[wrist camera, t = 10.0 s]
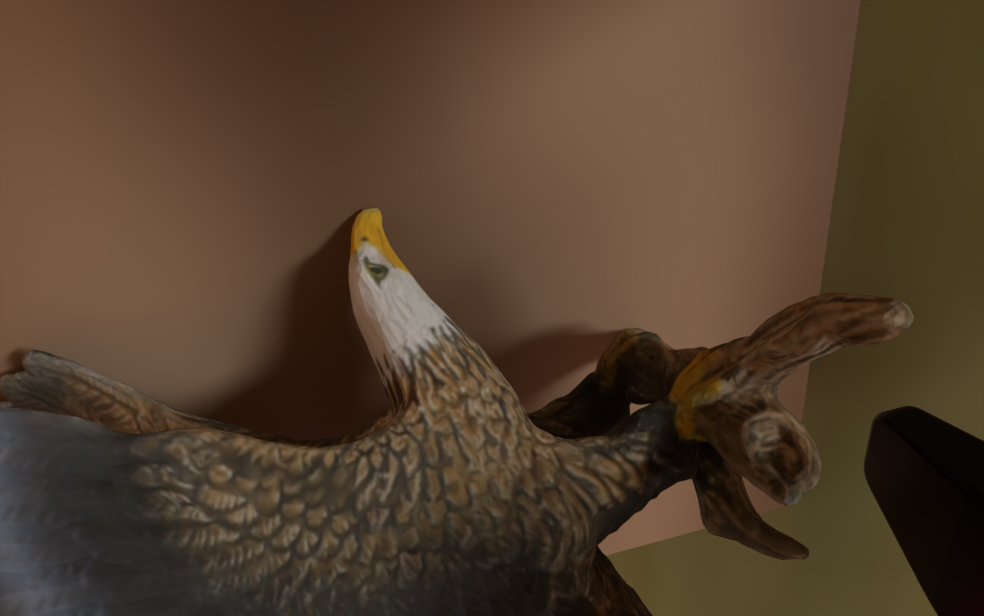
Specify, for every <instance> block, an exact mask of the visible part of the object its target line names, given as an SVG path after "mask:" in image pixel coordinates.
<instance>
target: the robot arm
mask: <svg viewBox="0 0 984 616" xmlns="http://www.w3.org/2000/svg"><path fill="white" fill-rule="evenodd" d="M864 473H865V477H866V480H867V483H868V485H869V487H870V489H871V491H872V493H873V495H874V497H875V499H876V501H877V503H878V505H879V507H880V508H881V510H882V512H883V514H884V516H885V518H886V520H887V522H888V524H889V526H890V528H891V530H892V532H893V534H894V535H895V537H896V539H897V541H898V543H899V545H900V547H901V549H902V551H903V553H904V555H905V557H906V559H907V560H908V562H909V564H910V566H911V568H912V570H913V572H914V574H915V576H916V578H917V580H918V582H919V584H920V585H921V587H922V589H923V591H924V593H925V594H926V596H927V598H928V600H929V602H930V603H931V605H932V607H933V608H934V610H935V611H936V613H937V615H938V616H984V441H983V440H981V439H979V438H977V437H975V436H973V435H971V434H969V433H967V432H965V431H963V430H961V429H959V428H957V427H955V426H953V425H951V424H949V423H947V422H945V421H943V420H941V419H939V418H937V417H935V416H933V415H931V414H929V413H927V412H925V411H923V410H922V409H919V408H916V407H913V406H904V407H900V408H896V409H892V410H889V411H885V412H881V413H879V414H877V415H876V417H875V418H874V419H873V422H872V425H871V430H870V435H869V440H868V445H867V450H866V455H865V460H864Z"/></svg>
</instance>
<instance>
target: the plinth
mask: <svg viewBox="0 0 984 616" xmlns="http://www.w3.org/2000/svg"><path fill="white" fill-rule="evenodd" d="M860 3H861V0H0V378H1V377H2V376H4V375H6V374H8V373H15V372H19V371H25V369H24V367H23V364H22V360H23V358H24V356H25V354H26V353H28V352H29V351H31V350H39V351H44V352H47V353H50V354H52V355H55V356H57V357H60V358H63V359H67V360H73V361H75V362H77V363H79V364H81V365H84V366H85V367H87V368H89V369H91V370H94V371H96V372H98V373H100V374H101V375H103V376H105V377H107V378H110V379H113V380H116V381H119V382H121V383H123V384H125V385H127V386H129V387H131V388H133V389H135V390H137V391H139V392H141V393H143V394H145V395H147V396H149V397H151V398H153V399H155V400H158V401H161V402H163V403H165V404H166V405H168V406H169V407H171V408H173V409H175V410H177V411H180V412H184V413H187V414H193V415H199V416H204V417H207V418H210V419H213V420H215V421H218V422H221V423H226V424H231V425H236V426H240V427H243V428H247V429H250V430H254V431H257V432H261V433H267V434H272V435H277V436H282V437H287V438H290V439H294V440H321V439H328V438H335V437H339V436H343V435H346V434H349V433H351V432H353V431H355V430H357V429H360V428H362V427H364V426H366V425H367V424H369V423H371V422H373V421H375V420H376V419H378V418H379V417H381V416H382V415H383V414H384V413H385V412H386V411H387V409H388V408H389V406H390V403H389V400H388V398H387V396H386V394H385V391H384V388H383V385H382V381H381V376H380V373H379V370H378V368H377V367H376V365H375V363H374V361H373V359H372V356H371V354H370V351H369V349H368V346H367V344H366V342H365V339H364V337H363V335H362V333H361V331H360V329H359V327H358V324H357V321H356V318H355V316H354V312H353V307H352V301H351V294H350V287H349V262H350V253H351V233H352V226H353V224H354V221H355V219H356V216H357V215H358V214H359V213H360V212H361V211H363V210H364V209H371V208H377V209H379V210H380V212H381V215H382V227H383V230H384V233H385V236H386V238H387V240H388V242H389V244H390V246H391V248H392V249H393V251H394V252H395V254H396V255H397V257H398V258H399V259H400V260H401V262H402V263H403V264H404V265H405V267H406V268H407V269H408V271H409V272H410V273H411V275H412V276H413V277H414V279H415V280H416V281H417V283H418V284H419V286H420V287H421V288H422V289H423V290H424V292H425V293H426V294H427V295H428V297H429V298H430V299H431V300H432V301H433V302H434V303H435V304H436V305H438V306H439V307H440V308H441V309H442V310H443V311H444V312H445V313H446V314H447V315H448V317H449V318H450V319H451V320H452V321H453V322H454V323H455V324H456V325H457V326H458V327H459V328H460V329H461V330H462V331H463V332H465V333H466V334H467V335H468V336H470V337H471V338H472V339H473V340H474V341H475V342H477V343H478V344H479V345H480V346H481V347H482V348H483V350H484V351H485V352H486V354H487V355H488V356H489V358H490V359H491V361H492V362H493V364H494V365H495V366H496V367H497V368H498V370H499V371H500V372H501V374H502V375H503V376H504V378H505V379H506V380H507V381H508V383H509V384H510V385H511V387H512V388H513V390H514V391H515V392H516V394H517V395H518V397H519V399H520V401H521V404H522V406H523V408H524V410H525V412H526V414H527V413H532V412H536V411H538V410H540V409H542V408H543V407H544V406H546V405H547V404H548V403H549V402H551V401H553V400H554V399H556V398H560V397H563V396H566V395H567V394H569V393H570V392H571V391H572V390H573V389H574V388H575V387H576V386H577V385H578V384H579V383H580V382H581V381H582V380H583V379H584V378H585V377H586V376H587V375H588V374H590V373H592V372H593V371H595V370H596V366H597V363H598V360H599V358H600V356H601V354H602V352H603V351H604V350H605V348H606V347H607V345H608V344H609V342H610V341H612V340H613V338H614V337H615V335H616V334H618V333H621V332H623V331H625V330H627V329H633V328H639V329H643V330H645V331H649V332H653V333H656V334H657V335H659V337H660V338H661V339H662V340H663V341H664V342H665V343H666V344H667V345H669V346H670V347H671V348H673V349H675V350H678V349H685V348H698V347H701V346H702V347H707V348H708V349H710V348H713V347H715V346H718V345H720V344H723V343H728V342H730V341H731V340H734V339H737V338H741V337H746V336H750V335H751V334H752V333H753V332H754V331H755V330H756V329H757V328H758V327H759V326H760V325H761V324H762V323H763V322H765V321H766V320H767V319H768V318H770V317H771V316H773V315H775V314H777V313H778V312H780V311H782V310H783V309H785V308H786V307H788V306H789V305H792V304H795V303H798V302H801V301H804V300H806V299H807V298H809V297H811V296H817V295H820V288H821V281H822V274H823V267H824V260H825V253H826V245H827V238H828V231H829V224H830V217H831V210H832V203H833V195H834V188H835V181H836V174H837V167H838V160H839V153H840V145H841V138H842V131H843V124H844V117H845V110H846V103H847V95H848V88H849V81H850V74H851V67H852V60H853V53H854V45H855V38H856V31H857V24H858V17H859V10H860ZM809 367H810V363H809V364H807V365H806V366H804V367H802V368H801V369H799V370H797V371H796V372H794V373H792V374H791V375H789V376H788V377H786V378H785V379H783V381H782V382H781V384H780V385H779V387H778V390H777V398H778V400H779V402H780V403H781V404H782V405H783V406H784V407H785V408H786V409H787V410H788V411H789V412H791V413H792V414H793V415H794V416H796V418H797V419H798V420H799V421H800V422H801V423H802V417H803V410H804V402H805V395H806V388H807V381H808V374H809ZM1 401H8V399H7V398H6V397H5V396H4V395H3V394H2V393H1V391H0V402H1ZM647 405H650V404H645V405H637V404H632V403H631V404H630V415H631V414H632V413H633V412H635V411H637V410H638V409H640V408H643V407H645V406H647ZM742 479H743V482H744V485H745V489H746V491H747V494H748V496H749V498H750V500H751V503H752V505H753V507H754V508H755V510H756V512H757V513H758V514H760V513H764V512H767V511H771V510H775V509H778V508H782V507H786V506H784V505H782V504H780V503H777V502H776V501H774V500H773V499H771V498H770V497H769V496H767V495H766V494H765V493H764V492H763V491H761V490H760V489H758V488H757V487H755V486H754V485H752V484H751V483H750V482H749V481H748V480H747V479H746V478H744V477H743V476H742ZM701 529H705V526H704V525H703V522H702V519H701V515H700V508H699V503H698V497H697V494H696V491H695V487H694V484H693V481H692V479H689V480H685V481H681V482H677V483H676V484H674V485H673V486H671V487H670V488H668V489H666V490H664V491H662V492H661V493H660V494H659V495H658V497H657V498H656V499H652V500H650V501H649V502H648V504H647V505H646V506H645V507H644V508H643V510H642V511H640V512H637V513H635V514H634V515H633V516H632V517H631V518H630V519H629V520H628V521H627V522H625V523H624V524H623V525H622V526H621V527H620V528H619V529H618V530H617V531H616V532H614V533H612V534H610V535H608V536H607V537H606V538H605V539H604V540H603V541H602V542H601V543H600V544H599V545H598V547H599V548H600V550H601V551H602V552H603V553H604V555H605V556H606V555H609V554H613V553H617V552H620V551H624V550H628V549H631V548H635V547H639V546H642V545H646V544H650V543H653V542H657V541H661V540H664V539H668V538H672V537H675V536H679V535H683V534H686V533H690V532H694V531H698V530H701Z"/></svg>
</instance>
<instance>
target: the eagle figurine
mask: <svg viewBox="0 0 984 616" xmlns="http://www.w3.org/2000/svg"><path fill="white" fill-rule="evenodd" d="M349 287H350V294H351V301H352V307H353V312H354V316H355V318H356V321H357V324H358V327H359V329H360V331H361V333H362V335H363V337H364V339H365V342H366V344H367V346H368V349H369V351H370V354H371V356H372V359H373V361H374V363H375V365H376V367H377V368H378V370H379V373H380V376H381V381H382V385H383V388H384V391H385V394H386V396H387V398H388V400H389V403H390V406H389V408H388V409H387V411H386V412H385V413H384V414H383V415H382V416H381V417H379V418H378V419H376V420H375V421H373V422H371V423H369V424H367V425H366V426H364V427H362V428H360V429H357V430H355V431H353V432H351V433H349V434H346V435H343V436H339V437H335V438H328V439H321V440H294V439H290V438H287V437H282V436H277V435H272V434H267V433H261V432H257V431H254V430H250V429H247V428H243V427H240V426H236V425H231V424H226V423H221V422H218V421H215V420H213V419H210V418H207V417H204V416H199V415H193V414H187V413H184V412H180V411H177V410H175V409H173V408H171V407H169V406H168V405H166V404H165V403H163V402H161V401H158V400H155V399H153V398H151V397H149V396H147V395H145V394H143V393H141V392H139V391H137V390H135V389H133V388H131V387H129V386H127V385H125V384H123V383H121V382H119V381H116V380H113V379H110V378H107V377H105V376H103V375H101V374H100V373H98V372H96V371H94V370H91V369H89V368H87V367H85V366H84V365H81V364H79V363H77V362H75V361H73V360H67V359H63V358H60V357H57V356H55V355H52V354H50V353H47V352H44V351H39V350H31V351H29V352H28V353H26V354H25V356H24V358H23V360H22V364H23V367H24V369H25V371H19V372H15V373H8V374H6V375H4V376H2V377H1V378H0V391H1V393H2V394H3V395H4V396H5V397H6V398H7V399H8V401H1V402H0V616H652V614H651V613H650V612H649V611H648V609H647V608H646V606H645V605H644V604H643V602H642V601H641V599H640V598H639V596H638V594H637V593H636V592H635V590H634V589H633V588H632V587H630V586H629V585H628V584H627V583H626V582H625V581H624V580H623V579H622V577H621V576H620V575H619V574H618V572H617V571H616V569H615V568H614V566H613V564H612V563H611V561H610V560H609V559H608V558H607V557H606V556H605V555H604V553H603V552H602V551H601V550H600V548H599V547H598V545H599V544H600V543H601V542H602V541H603V540H604V539H605V538H606V537H607V536H608V535H610V534H612V533H614V532H616V531H617V530H618V529H619V528H620V527H621V526H622V525H623V524H624V523H625V522H627V521H628V520H629V519H630V518H631V517H632V516H633V515H634V514H635V513H637V512H640V511H642V510H643V508H644V507H645V506H646V505H647V504H648V502H649V501H650V500H652V499H656V498H657V497H658V495H659V494H660V493H661V492H662V491H664V490H666V489H668V488H670V487H671V486H673V485H674V484H676V483H677V482H681V481H685V480H689V479H692V481H693V484H694V487H695V491H696V494H697V497H698V503H699V508H700V515H701V519H702V522H703V525H704V526H705V528H706V529H707V530H708V532H709V533H711V534H713V535H716V536H719V537H723V538H727V539H731V540H735V541H738V542H740V543H741V544H743V545H745V546H746V547H749V548H752V549H754V550H756V551H758V552H760V553H762V554H764V555H767V556H770V557H774V558H777V559H781V560H788V559H806V558H807V557H808V556H809V551H808V548H807V547H805V546H804V545H802V544H801V543H799V542H797V541H796V540H794V539H793V538H791V537H789V536H787V535H785V534H783V533H781V532H779V531H777V530H776V529H774V528H772V527H771V526H769V525H768V524H767V523H765V522H764V521H763V520H762V518H761V517H760V516H759V515H758V513H757V512H756V510H755V508H754V507H753V505H752V503H751V500H750V498H749V496H748V494H747V491H746V489H745V485H744V482H743V479H742V476H743V477H744V478H746V479H747V480H748V481H749V482H750V483H751V484H752V485H754V486H755V487H757V488H758V489H760V490H761V491H763V492H764V493H765V494H766V495H767V496H769V497H770V498H771V499H773V500H774V501H776V502H777V503H780V504H782V505H784V506H789V505H794V504H796V503H797V502H798V501H799V499H800V498H801V497H802V495H804V494H806V493H808V492H810V491H811V490H812V489H813V488H814V486H815V485H816V484H817V483H818V482H819V480H820V475H821V460H820V456H819V451H818V448H817V446H816V445H815V443H814V441H813V439H812V437H811V436H810V434H809V432H808V431H807V430H806V428H805V427H804V426H803V424H802V423H801V422H800V421H799V420H798V419H797V418H796V416H794V415H793V414H792V413H791V412H789V411H788V410H787V409H786V408H785V407H784V406H783V405H782V404H781V403H780V402H779V400H778V398H777V390H778V387H779V385H780V384H781V382H782V381H783V379H785V378H786V377H788V376H789V375H791V374H792V373H794V372H796V371H797V370H799V369H801V368H802V367H804V366H806V365H807V364H809V363H811V362H812V361H814V360H816V359H818V358H820V357H822V356H824V355H827V354H829V353H832V352H834V351H836V350H838V349H840V348H843V347H845V346H866V345H874V344H879V343H883V342H886V341H889V340H891V339H893V338H895V337H897V336H899V335H900V334H902V333H903V332H904V331H905V330H906V329H907V328H908V327H909V326H910V325H911V324H912V322H913V314H912V312H911V309H910V308H909V307H908V306H907V305H906V304H905V303H903V302H901V301H900V300H898V299H892V298H885V297H878V296H869V295H855V294H849V293H826V294H821V295H817V296H811V297H809V298H807V299H806V300H804V301H801V302H798V303H795V304H792V305H789V306H788V307H786V308H785V309H783V310H782V311H780V312H778V313H777V314H775V315H773V316H771V317H770V318H768V319H767V320H766V321H765V322H763V323H762V324H761V325H760V326H759V327H758V328H757V329H756V330H755V331H754V332H753V333H752V334H751V335H750V336H746V337H741V338H737V339H734V340H731V341H730V342H728V343H723V344H720V345H718V346H715V347H713V348H710V349H708V348H707V347H702V346H701V347H698V348H685V349H678V350H675V349H673V348H671V347H670V346H669V345H667V344H666V343H665V342H664V341H663V340H662V339H661V338H660V337H659V335H657V334H656V333H653V332H649V331H645V330H643V329H639V328H633V329H627V330H625V331H623V332H621V333H618V334H616V335H615V337H614V338H613V340H612V341H610V342H609V344H608V345H607V347H606V348H605V350H604V351H603V352H602V354H601V356H600V358H599V360H598V363H597V366H596V370H595V371H593V372H592V373H590V374H588V375H587V376H586V377H585V378H584V379H583V380H582V381H581V382H580V383H579V384H578V385H577V386H576V387H575V388H574V389H573V390H572V391H571V392H570V393H569V394H567V395H566V396H563V397H560V398H556V399H554V400H553V401H551V402H549V403H548V404H547V405H546V406H544V407H543V408H542V409H540V410H538V411H536V412H532V413H527V414H526V412H525V410H524V408H523V406H522V404H521V401H520V399H519V397H518V395H517V394H516V392H515V391H514V390H513V388H512V387H511V385H510V384H509V383H508V381H507V380H506V379H505V378H504V376H503V375H502V374H501V372H500V371H499V370H498V368H497V367H496V366H495V365H494V364H493V362H492V361H491V359H490V358H489V356H488V355H487V354H486V352H485V351H484V350H483V348H482V347H481V346H480V345H479V344H478V343H477V342H475V341H474V340H473V339H472V338H471V337H470V336H468V335H467V334H466V333H465V332H463V331H462V330H461V329H460V328H459V327H458V326H457V325H456V324H455V323H454V322H453V321H452V320H451V319H450V318H449V317H448V315H447V314H446V313H445V312H444V311H443V310H442V309H441V308H440V307H439V306H438V305H436V304H435V303H434V302H433V301H432V300H431V299H430V298H429V297H428V295H427V294H426V293H425V292H424V290H423V289H422V288H421V287H420V286H419V284H418V283H417V281H416V280H415V279H414V277H413V276H412V275H411V273H410V272H409V271H408V269H407V268H406V267H405V265H404V264H403V263H402V262H401V260H400V259H399V258H398V257H397V255H396V254H395V252H394V251H393V249H392V248H391V246H390V244H389V242H388V240H387V238H386V236H385V233H384V230H383V227H382V215H381V212H380V210H379V209H377V208H371V209H364V210H363V211H361V212H360V213H359V214H358V215H357V216H356V219H355V221H354V224H353V226H352V233H351V253H350V262H349ZM631 403H632V404H637V405H645V404H650V405H647V406H645V407H643V408H640V409H638V410H637V411H635V412H633V413H632V414H631V415H630V404H631Z"/></svg>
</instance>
